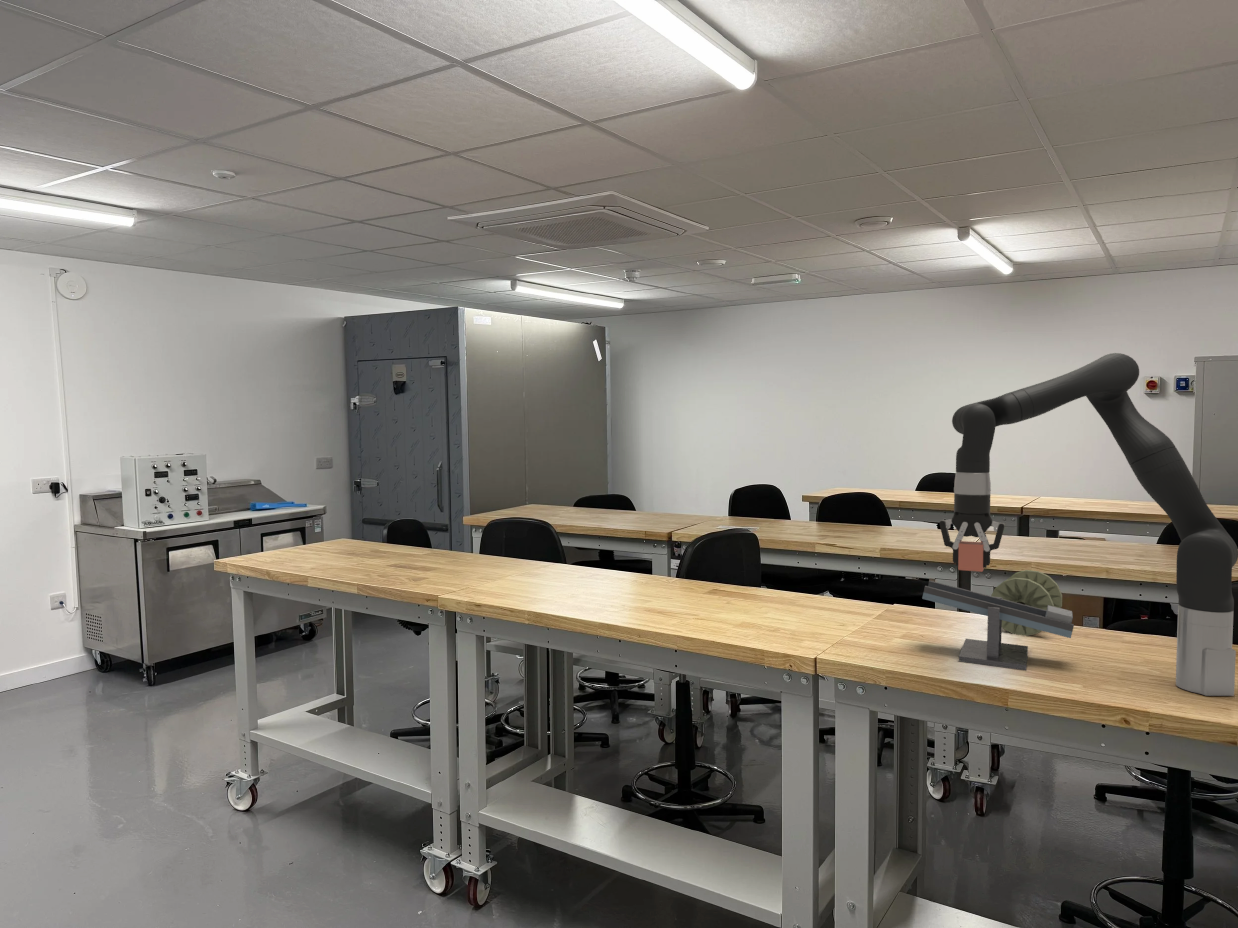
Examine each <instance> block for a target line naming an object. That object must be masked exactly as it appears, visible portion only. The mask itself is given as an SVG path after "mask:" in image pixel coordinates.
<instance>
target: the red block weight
mask: <svg viewBox="0 0 1238 928" xmlns="http://www.w3.org/2000/svg"><path fill="white" fill-rule="evenodd" d="M983 551H984V548H983V544H982V543H981V541H967V540H962V541H961V542H960V543H959V557H958V566H957V568H958V571H967V572H968V571H969V572H980V573H982V572H983V571H984V569H985V568H983Z"/></svg>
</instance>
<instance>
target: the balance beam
mask: <svg viewBox="0 0 1238 928" xmlns="http://www.w3.org/2000/svg"><path fill="white" fill-rule="evenodd" d="M921 598H922V600H926V601H930V602H933V603H937V604H940V605H944V606H948V607H952V608H956V609H959V610H963V611H967V612H971V613H975V614H977V615H978V614H979V615H983V616H985V617H988V607H997V608H1000V620H1004V621H1008V622H1011V623H1015V624H1019V625H1023V626H1026V627H1030V628H1034V629H1037V630H1041V632H1045V633H1049V634H1053V635H1057V636H1060V637H1065V638H1067V639H1071V638H1072V635H1073V630H1074V627H1075V624H1074V623H1073V618H1074V617H1073V611H1072V610H1069V609H1065V608H1062V607H1061V608H1057V607H1053V606H1049V605H1048V607H1047V610H1043V609H1039V608H1035V607H1032V606H1028V605H1024V604H1020V603H1016V602H1012V601H1008V600H1004V599H1000V598H996V597H993V596H991V595H988V594H985V593H981V592H977V591H973V590H968V589H964V588H961V587H956V586H953V585H949V584H946V583H945V584H944V583H941V582H937V581H935V580H928V585H925V586H924V589H923V593H922V597H921Z"/></svg>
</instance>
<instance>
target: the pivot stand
mask: <svg viewBox="0 0 1238 928" xmlns="http://www.w3.org/2000/svg"><path fill="white" fill-rule="evenodd" d="M996 598H1000V599H1002V597H996ZM1002 630H1003V628H1002V620H1000V608H997V607H988V616H987V632H986V633H987V634H986V635H987V636H986V640H980V639H972V638H965V640H964V642H963V645H962V647H961V649H960V653H959V654H958V662H961V663H968V664H976V665H983V666H989V667H990V666H991V667H996V668H997V667H999V668H1005V669H1012V670H1019V671H1027V664H1028V654H1029V646H1028V645H1021V644H1014V643H1006V642H1002V633H1003V631H1002Z"/></svg>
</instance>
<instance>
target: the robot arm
mask: <svg viewBox="0 0 1238 928" xmlns="http://www.w3.org/2000/svg"><path fill="white" fill-rule="evenodd" d="M1139 376H1140V367H1139V364H1138V363H1137V361H1136V360H1135V359H1134V358H1133V357H1131V356H1130V355H1127V354H1125V353H1119V352H1114V353H1109V354H1104V355H1103V356H1101V357H1099V358H1097V359H1096V360H1093V361H1092V362H1090V363H1087V364H1086V365H1084V366H1081V367H1079V368H1076V369H1075V370H1073V371H1070V372H1068V373H1065V374H1062V375H1060V376H1057V377H1053V378H1051V379H1047V380H1045V381H1042V382H1039V383H1035V384H1033V385H1029V386H1026V387H1022V388H1019V389H1017V390H1014V391H1011V392H1007V393H1005V394H1002V395H999V396H997V397H994V398H989V399H985V400H980V401H977V402H973V403H972V402H971V403H970V404H969V403H968V404H965V405H963V406H960V408H958V409H957V410H955V412H954V413H953V416H952V419H951V424H952V428H954V430H955V431H956V432H957V433H959V434H960V435H962V441H961V446H960V447H959V448H957V451H956V455H955V477H954V482H953V483H954V487H953V492H954V493H953V499H954V500H953V504H954V505H953V516H952V518H951V519H950V518H949V519H941V520H940V521H939V527H940V531H941V536H942V540H943V541H942V542H943V544H944V546H945V547H948V548H950V549H952V563H953V564H955V566H957V567H958V557H959V543H960V542H961V541H963V539H964V537H967V538H968V537H973V538H979V540H980V541H979V542H981V543H982V544H983V548H984V551H983V568H984V569H987V567H988V566H990V564H991V552H992V551H994V550H998V549H999V547H1000V545H1001V542H1002V541H1001V540H1002V538H1003V534H1004V531H1005V527H1006V524H1005V522H998V521H994V520H993V519H992V516H991V491H992V489H991V487H992V486H991V475H990V472H991V471H990V467H991V464H990V463H991V460H990V459H991V458H990V454H991V449H992V447H993V443H994V437H995V431H996V427H999V426H1003V425H1012V424H1016V423H1020V422H1023V421H1026V420H1029V419H1032V418H1035V417H1038V416H1039V417H1040V416H1042V415H1045V414H1047V413H1049V412H1051V411H1053V410H1055V409H1057V408H1060V407H1061V406H1064V405H1066V404H1069V403H1071V402H1073V401H1076V400H1078V399H1081V398H1084V397H1085V398H1086V399H1087V400H1088V401H1089V403H1090V404H1091V406H1092V407H1093V408H1094V409H1095V411H1096V413H1098V414H1099V416H1100V418H1101V419H1102V420H1103V422H1104V423H1105V424H1106V426H1107V428H1108V429H1109V431H1110V433H1111V435H1112V436H1113V438H1114V440H1115V442H1116V444H1117V445H1118V447H1119V449H1120V450H1121V452H1122V454H1123V455H1124V457H1125V459H1126V461H1127V464H1129V467H1130V468H1131V471H1132V472H1133V474H1134V475H1135V478H1136V479H1137V481H1138V482H1139V483H1140V485H1141V487H1143V489H1144V491H1146V493H1147V494H1148V495H1149V496H1150V497H1151V498H1152V500H1154V502H1155V503H1156V504H1157V505H1158V506H1159V507H1160V508H1161V509H1162V510H1163V511H1164V512H1165V514H1166V515H1167V516H1168V518H1169V520H1170V521H1171V523H1172V524H1173V526H1174V528H1175V529H1176V532H1177V534H1178V537H1179V538H1180V543H1179V546H1178V548H1177V553H1176V572H1175V573H1176V574H1175V575H1176V577H1175V578H1176V580H1175V582H1176V583H1175V584H1176V587H1175V588H1176V593H1177V595H1178V606H1177V632H1176V633H1177V634H1176V659H1175V661H1176V665H1175V685H1176V687H1178V688H1179V689H1182V690H1184V691H1188V692H1191V693H1195V694H1200V695H1203V696H1208V697H1209V696H1211V697H1212V696H1213V697H1214V696H1218V697H1220V696H1221V697H1222V696H1225V697H1227V696H1228V697H1229V696H1232V697H1233V696H1235V686H1236V685H1235V683H1236V682H1235V681H1236V657H1237V651H1236V649H1234V648H1233V637H1234V636H1233V631H1234V630H1233V629H1234V627H1233V626H1234V608H1235V599H1234V596H1233V592H1232V591H1233V590H1232V589H1233V588H1232V583H1233V582H1232V578H1233V577H1232V576H1233V575H1232V574H1233V567H1234V566H1235V564H1236V563H1237V561H1238V546H1237V544H1236V542H1235V540H1234V539H1233V538H1232V536H1231V535H1230V534H1229V533H1228V532H1227V530H1226V529H1225V528H1224V526H1223V525H1222V524H1221V522H1220V521H1219V520H1218V519H1217V517H1216V516H1215V514H1214V513H1213V512H1212V510H1211V509H1210V507H1209V506H1208V504H1207V503H1206V501H1205V499H1204V497H1203V495H1202V493H1201V491H1200V488H1199V487H1198V484H1197V483H1196V480H1195V478H1194V477H1193V474H1192V473H1191V471H1190V469H1189V467H1188V466H1187V464H1186V462H1185V459H1184V458H1183V457H1182V455H1181V453H1180V452H1179V450H1178V449H1177V447H1176V445H1175V444H1174V442H1173V440H1171V438H1170V437H1169V436H1168V435H1166V434H1165V432H1163V431H1161V430H1160V429H1159V428H1157V426H1155V425H1154V424H1152V423H1151V422H1150V421H1148V420H1147V419H1145V418H1144V416H1142V414H1140V412H1139V411H1138V409H1137V408H1136V406H1135V404H1134V403H1133V401H1132V399H1131V397H1130V396H1129V395H1130V394H1129V393H1128V391H1129V390H1130V389H1131V388H1132V387H1134V385H1135V384H1136V383H1137V382H1138V379H1139ZM951 525H953V527H954V528H955V529H956V530H957V531H958V532H957V533H956V534H957V535H956V536H955V540H954V541H952V540H951V537H950V533H949V529H951ZM991 526H992V527H993V531H994V532H996V534H995V537H994V540H993V543H991V544H990V542H989V540H988V537H987V534H986V532H987V531H988V530H989V528H990V527H991Z"/></svg>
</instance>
